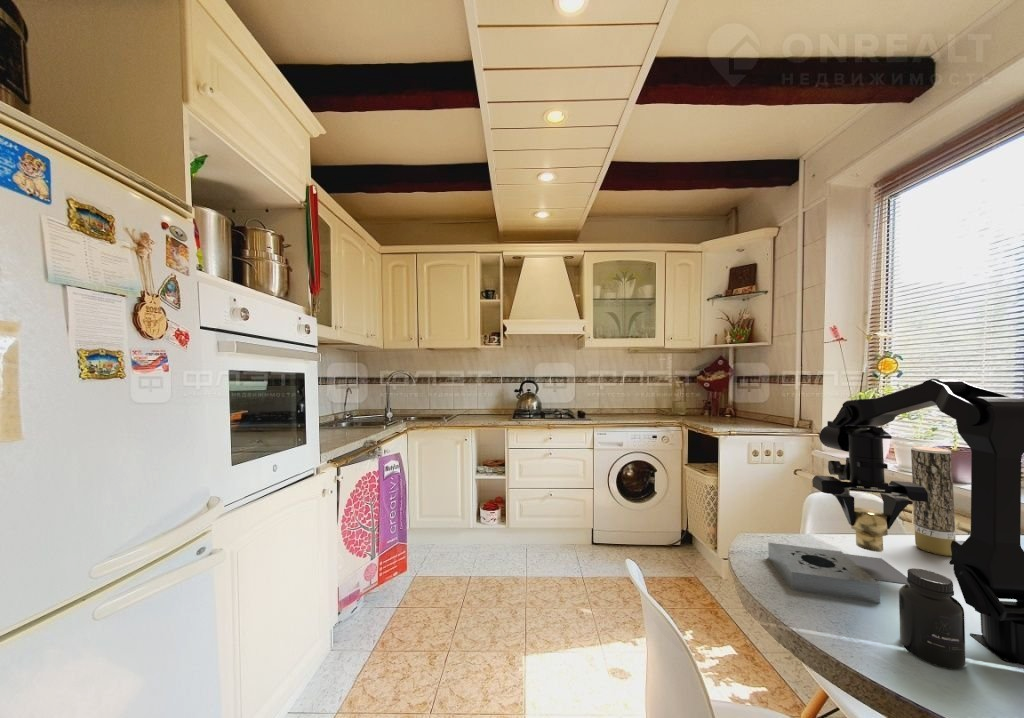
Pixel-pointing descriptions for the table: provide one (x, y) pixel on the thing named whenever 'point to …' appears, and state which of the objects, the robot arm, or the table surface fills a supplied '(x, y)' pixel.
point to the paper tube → (934, 500)
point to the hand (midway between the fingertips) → (868, 526)
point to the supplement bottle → (932, 620)
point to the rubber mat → (878, 569)
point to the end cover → (870, 528)
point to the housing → (823, 572)
